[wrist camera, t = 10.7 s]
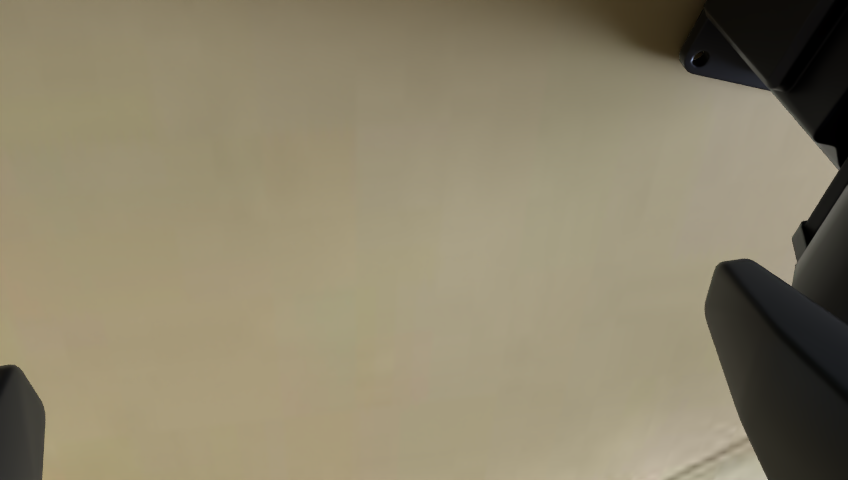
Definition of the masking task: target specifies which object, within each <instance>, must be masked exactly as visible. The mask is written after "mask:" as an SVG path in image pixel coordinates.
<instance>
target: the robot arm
mask: <svg viewBox="0 0 848 480" xmlns="http://www.w3.org/2000/svg"><path fill="white" fill-rule="evenodd" d="M701 51H704V52H703V54H702V55H701V57H700V58H698V59H696V60H693V57H694V56H695V55H696V54H697V53H699V52H701ZM679 60H680V62H681V63H682V65H683V66H684V67H685V69H686V70H687V71H688V72H690V73H692V74H696V75H700V76H705V77H709V78H714V79H719V80H723V81H728V82H732V83H737V84H741V85H746V86H751V87H755V88H760V89H764V90H769V91H771V92H772V93H773V94H774V95H775V96H776V98H777V99H778V100H779V101H780V102H781V103H782V105H783V106H784V107H785V108H786V109H787V110H788V112H789V113H790V114H791V115H792V116H793V117H794V119H795V120H796V121H797V122H798V123H799V124H800V126H801V127H802V128H803V129H804V130H805V131H806V133H807V134H808V135H809V136H810V137H811V139H812V140H813V141H814V142H815V143H816V144H817V146H818V147H819V148H820V149H821V150H822V151H823V153H824V154H825V155H826V156H827V157H828V158H829V160H830V161H831V162H832V163H833V164H834V165H835V167H836V168H837V169H838V170H839V171H838V173H837V174H836V176H835V178H834V179H833V181H832V182H831V184H830V186H829V187H828V189H827V190H826V192H825V194H824V195H823V197H822V198H821V200H820V202H819V203H818V205H817V206H816V208H815V210H814V211H813V213H812V214H811V216H810V217H809V219H808V221H803V222H802V223H801V224H800V226H799V227H798V229H797V230H796V232H795V234H794V235H793V237H792V242H793V247H794V251H795V255H796V259H797V264H796V265H795V271H794V277H793V283H792V286H790V285H789V284H787V283H786V282H784V281H783V280H781V279H780V278H778V277H777V276H775V275H774V274H772V273H771V272H769V271H768V270H766V269H765V268H764V267H762V266H761V265H759V264H758V263H756V262H754V261H752V260H750V259H738V260H731V261H724V262H721V263H719V264H718V265H717V266H716V268H715V270H714V273H713V277H712V280H711V284H710V287H709V291H708V294H707V298H706V301H705V317H706V321H707V324H708V327H709V330H710V333H711V336H712V339H713V342H714V345H715V348H716V351H717V354H718V357H719V360H720V363H721V366H722V369H723V372H724V375H725V378H726V380H727V383H728V386H729V389H730V392H731V395H732V398H733V401H734V404H735V407H736V410H737V412H738V415H739V418H740V420H741V423H742V425H743V427H744V429H745V432H746V434H747V436H748V438H749V441H750V443H751V445H752V447H753V449H754V451H755V453H756V455H757V457H758V460H759V462H760V464H761V466H762V468H763V470H764V472H765V474H766V476H767V479H768V480H848V0H706V2H705V4H704V9H703V11H702V13H701V15H700V16H699V18H698V20H697V22H696V23H695V25H694V27H693V29H692V31H691V32H690V34H689V36H688V38H687V39H686V41H685V43H684V45H683V47H682V48H681V51H680V54H679ZM44 436H45V411H44V406H43V404H42V401H41V399H40V398H39V396H38V395H37V393H36V392H35V390H34V389H33V387H32V385H31V384H30V382H29V381H28V379H27V378H26V376H25V375H24V373H23V371H22V370H21V369H20V368H19V367H17V366H16V365H4V366H0V480H42V471H43V454H44Z"/></svg>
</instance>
